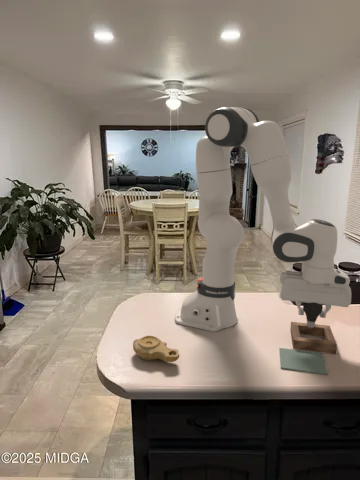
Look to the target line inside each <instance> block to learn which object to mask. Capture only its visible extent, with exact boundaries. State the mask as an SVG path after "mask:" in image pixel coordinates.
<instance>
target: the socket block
mask: <svg viewBox="0 0 360 480" xmlns="http://www.w3.org/2000/svg"><path fill="white" fill-rule="evenodd" d="M306 323H307V322H298V321H297V322H296V321H290V328H289V329H290V337H291V344H292V349H293V350H301V351H309V352H318V353H322V354H323V353H325V354H331V355H337V350H338V344H337V341H336V339H335V336H334V334H333V331H332V329H331V326H330V325H327V324H316V323H315V327H313V328H309V327H308V326H307V324H306ZM301 335H306V336H307V335H310V336H316V337H317V336H318V337H323V339H318V338H317V339H316V338H308V337H301Z"/></svg>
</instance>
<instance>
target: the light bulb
mask: <svg viewBox="0 0 360 480" xmlns="http://www.w3.org/2000/svg"><path fill="white" fill-rule="evenodd" d="M302 306H303V307H302V308H303V309H304V315H305V318H306V319H305V320H306V322H305V323H306V324H307V326H308V327H309V328H313V327H315V324H316V321H317V319H318V317H320V314H321V312H322V310H324V308H323V307H324V306H323V305H322V304H318V303H314V302H313V303H305V302H303V304H302Z"/></svg>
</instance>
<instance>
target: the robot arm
mask: <svg viewBox="0 0 360 480" xmlns="http://www.w3.org/2000/svg"><path fill="white" fill-rule="evenodd" d="M204 124H205V125H204V130H205V135H204V136H203V137H200V139H199V140H197V143H196V149H195V169H196V179H197V190H198V220H197V228H198V231H199V233H200V235H201V236H202V237H203V238H204V239H206V250H205V254H204V257H203V259H202V277H199V278H198V280H197V283H196V290H195V291H194V292H192V293H191V294H189V295H187V296H186V297H185V298H184V300H183V301H182V305H181V307H179V309H178V310H177V311H176V312H175V316H174V322H175V324H178V325H181V326H182V325H183V326H187V327H192V328H196V329H201V330H206V331H210V332H218V331H220V330H223V329H227V328H230V327H233V326H234V325H236V324H237V323H238V320H239V319H238V317H237V311H236V305H235V299H236V282H235V269H236V268H235V267H236V266H235V264H236V258H237V254H238V250H239V246H240V245H241V244H242V242H243V241H244V238H245V230H244V227H243V225H242V224H241V222H240V221H239V220H238V219H237V217H235V216H233V215H230V214H231V213H230V205H231V204H230V203H231V198H232V196H233V183H232V182H233V181H232V171H231V170H232V169H231V157H230V156H231V152H232V150H233V149H238V148H240V147H242V148H243V149H245V151H246V153H247V156H248V161H249V165H250V169H251V173H252V175H253V178H254V181H255V182H256V185H257V187H258V189H259V190H260V192H261V193H262V194H263V195H264V197H265V199H266V200H267V204H268V206H269V211H270V215H271V220H272V226H273V227H272V232H271V237H270V238H271V240H270V241H271V245H272V250H273V254H274V255H275V257H276V258H277V259H279V261H282V262H284V263H299V262H300V263H301V262H302V263H301V264H302V265H301V271H292V270H286V271H283V272H282V273H281V274H280V278H279V282H280V283H281V284H280V289H279V297H280V299H281V300H282V301H289V302H295V306H296V307H297V309H298V311H297V314H298V315H299V316H304V315H305V312H304V309H303V307H301V305H302V303H304V302H305V303H313V302H314V303H318V304H322V306H323V305H324V308H323V310H322V312H321V314H320V315H319V317H320V318H323V319H326V316H327V313H329V312H330V310H331V309H332V307H339V308H340V307H341V308H348V307H349V306H350V305H351V303H352V288H351V287H350V285H349V284H350V282H351V279H350V277H349V276H348V274H347V273H345V271H342V270H339V269H337V268H335V262H334V261H335V260H334V259H335V256H336V253H337V246H338V229H337V227H336V226H335V225H334V224H333V223H331V222H329V221H326V220H323V219H316V218H312V219H310V220H308V221H307V222H304V223H303V224H301V225H297V224H296V222H295V221H294V218H293V215H292V210H291V205H290V200H289V187H290V184H291V179H292V166H291V159H290V155H289V149H288V147H287V143H286V141H285V138H284V137H285V136H284V134H283V133H282V130H281V128H280V126H279V125H278V123H277V122H275V121H274V120H273V121H272V120H261V121H260V120H259V117H258V116H257V114H256V113H255V112H254V111H252V110H251V109H249V108H244V107H240V106H231V107H226V106H223V107H222V106H221V107H220V108H216V109H215V110H213V111H212V112H211V113H209V115H208V116H207V119H206V121H205V123H204Z"/></svg>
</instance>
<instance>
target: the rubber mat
mask: <svg viewBox="0 0 360 480" xmlns="http://www.w3.org/2000/svg"><path fill="white" fill-rule="evenodd" d="M279 359H280V360H279V361H280V362H279V363H280V369H281V370H288V371H295V372H303V373H308V374H309V373H310V374H311V373H312V374H316V375H325V376H329V372H328V368H327V365H326V362H325V358H324V355H323V353H322V352H314V351H306V350H298V349H293V348H292V349H291V348H284V347H279Z"/></svg>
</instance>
